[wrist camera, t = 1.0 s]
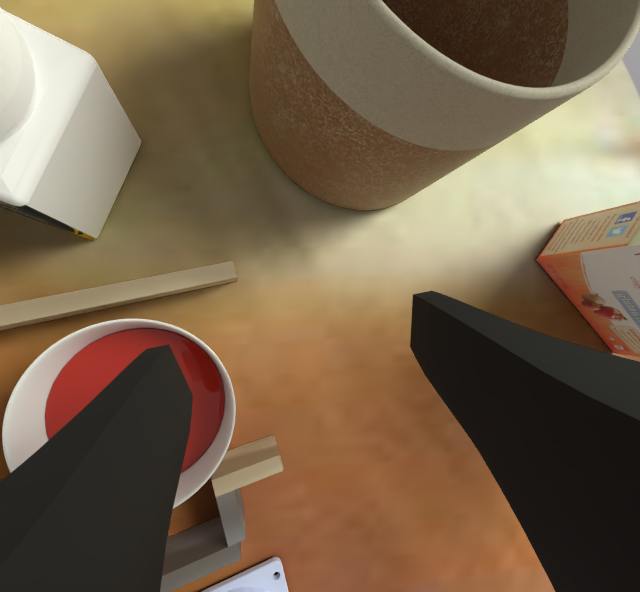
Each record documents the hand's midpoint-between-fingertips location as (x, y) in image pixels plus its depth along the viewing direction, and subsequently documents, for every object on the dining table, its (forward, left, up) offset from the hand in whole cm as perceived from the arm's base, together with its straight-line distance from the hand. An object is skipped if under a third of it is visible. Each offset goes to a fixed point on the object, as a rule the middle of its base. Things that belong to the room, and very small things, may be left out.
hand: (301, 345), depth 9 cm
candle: (-2, +7, -13) cm, 15 cm away
